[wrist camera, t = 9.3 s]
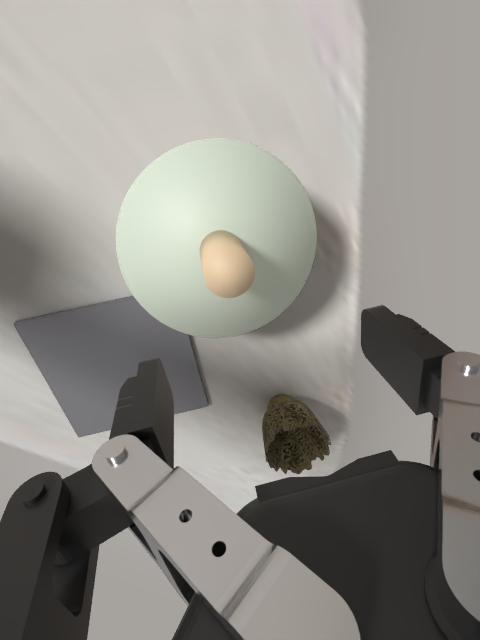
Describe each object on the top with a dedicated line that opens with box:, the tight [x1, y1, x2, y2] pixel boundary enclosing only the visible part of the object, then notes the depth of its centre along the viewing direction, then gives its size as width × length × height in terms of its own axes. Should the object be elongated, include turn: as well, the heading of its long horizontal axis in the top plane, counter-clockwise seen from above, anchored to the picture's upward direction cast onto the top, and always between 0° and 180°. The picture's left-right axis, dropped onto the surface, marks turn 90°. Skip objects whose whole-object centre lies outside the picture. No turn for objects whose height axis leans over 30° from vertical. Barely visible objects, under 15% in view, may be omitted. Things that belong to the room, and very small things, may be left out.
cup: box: [262, 395, 331, 474], centre depth 41 cm, size 8×7×8 cm
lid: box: [116, 138, 317, 338], centre depth 24 cm, size 15×15×6 cm
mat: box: [14, 296, 208, 437], centre depth 38 cm, size 16×16×1 cm
